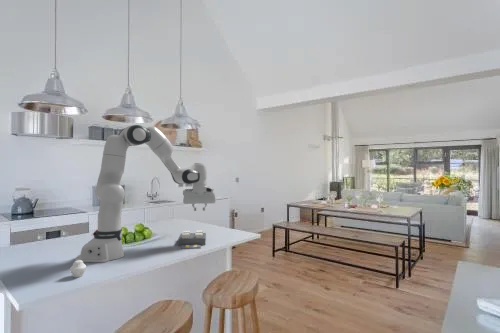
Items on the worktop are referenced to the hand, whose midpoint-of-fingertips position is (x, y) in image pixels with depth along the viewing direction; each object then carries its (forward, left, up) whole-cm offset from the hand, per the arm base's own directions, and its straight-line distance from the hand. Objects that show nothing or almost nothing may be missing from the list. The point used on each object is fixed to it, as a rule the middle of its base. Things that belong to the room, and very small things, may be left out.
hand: (199, 210), depth 184 cm
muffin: (-49, -53, -19) cm, 75 cm away
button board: (-4, -3, -19) cm, 20 cm away
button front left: (-8, -7, -16) cm, 19 cm away
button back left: (-8, 0, -16) cm, 18 cm away
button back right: (0, 0, -16) cm, 16 cm away
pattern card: (-4, -14, -19) cm, 24 cm away
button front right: (0, -7, -16) cm, 18 cm away
